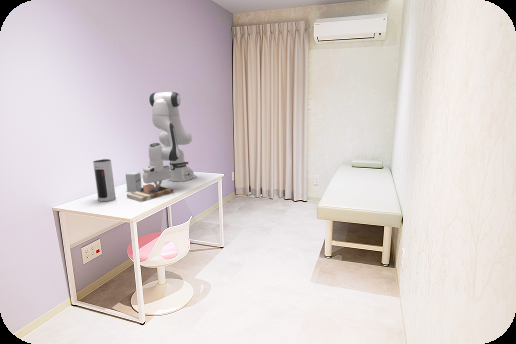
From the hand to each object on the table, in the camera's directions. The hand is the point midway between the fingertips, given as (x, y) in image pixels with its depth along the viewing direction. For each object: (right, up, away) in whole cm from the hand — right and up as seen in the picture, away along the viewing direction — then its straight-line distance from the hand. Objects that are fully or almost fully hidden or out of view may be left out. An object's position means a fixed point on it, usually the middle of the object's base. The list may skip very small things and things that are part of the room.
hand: (158, 187), depth 223 cm
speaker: (-30, -8, -12) cm, 33 cm away
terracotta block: (-5, -3, -5) cm, 8 cm away
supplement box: (-19, -3, +8) cm, 21 cm away
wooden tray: (-4, -5, -4) cm, 8 cm away
